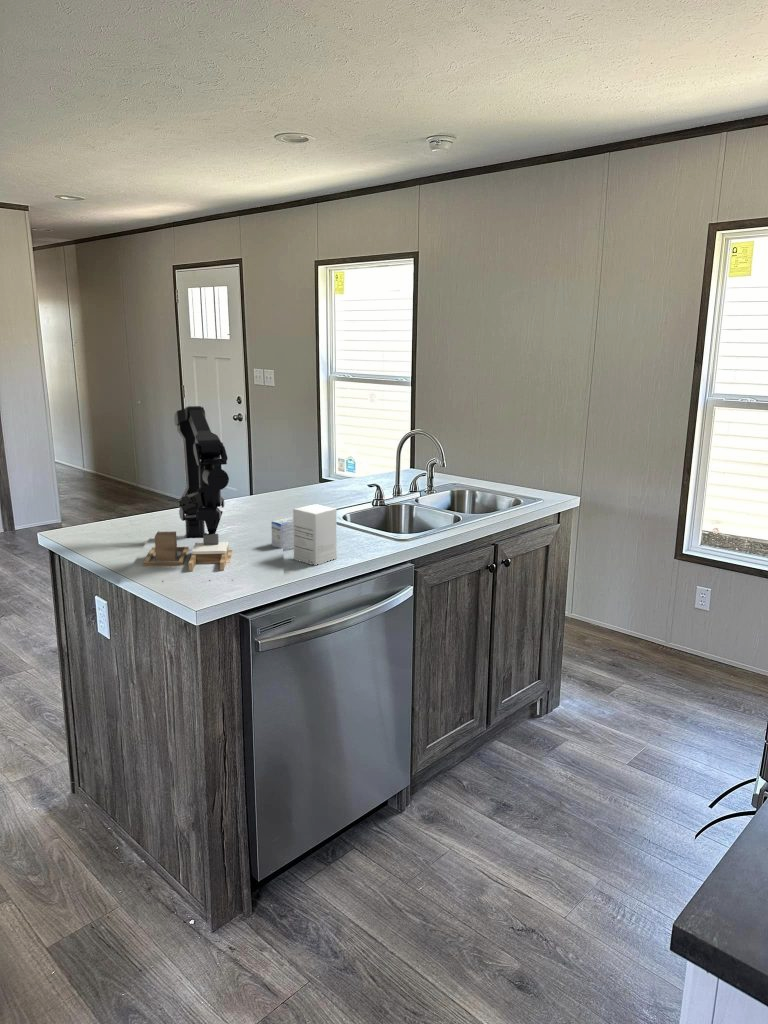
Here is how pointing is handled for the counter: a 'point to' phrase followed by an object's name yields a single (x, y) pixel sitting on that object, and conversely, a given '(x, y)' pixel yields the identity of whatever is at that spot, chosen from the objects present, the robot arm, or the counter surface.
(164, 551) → the walnut block
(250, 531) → the counter surface
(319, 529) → the supplement box
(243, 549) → the counter surface
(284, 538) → the medicine box
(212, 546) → the lid
